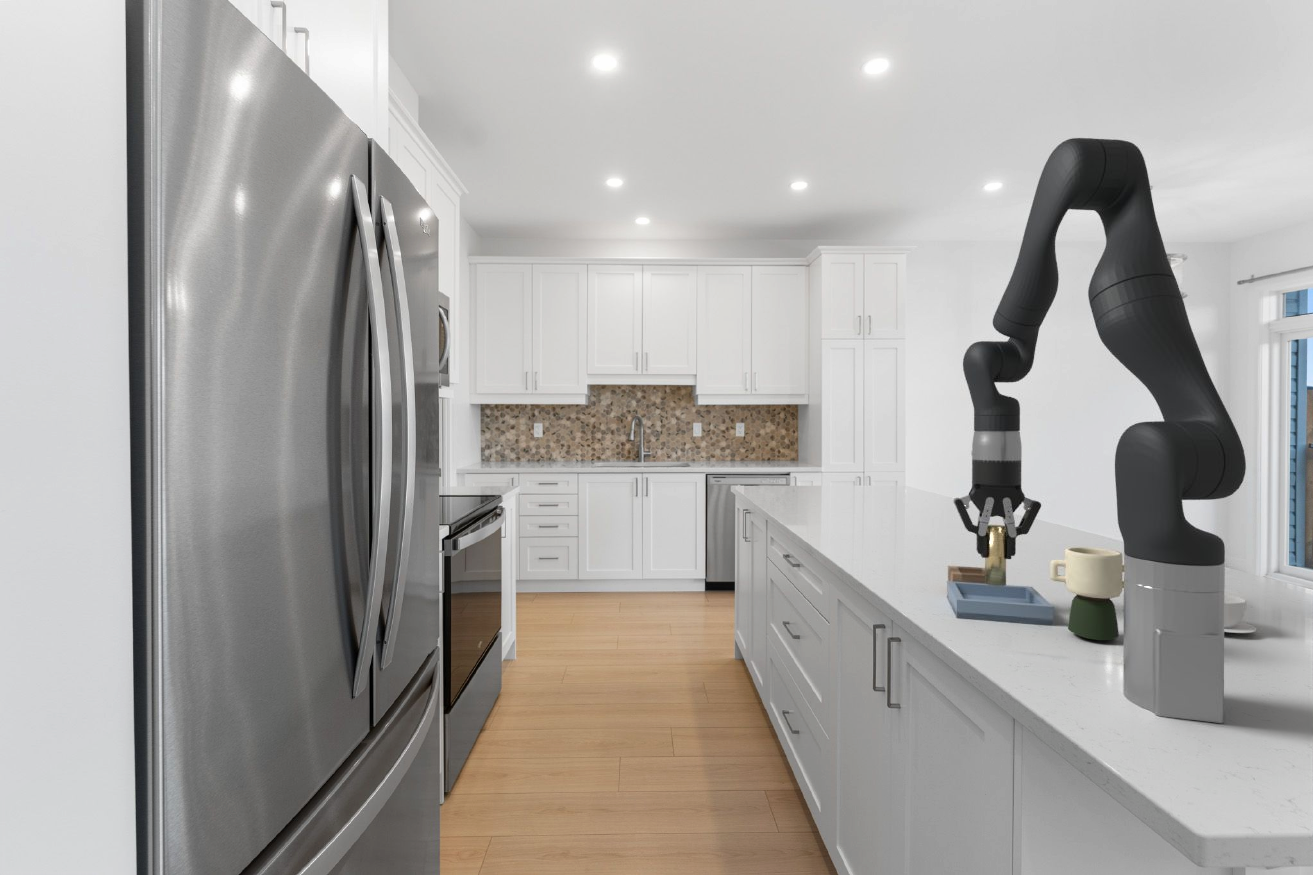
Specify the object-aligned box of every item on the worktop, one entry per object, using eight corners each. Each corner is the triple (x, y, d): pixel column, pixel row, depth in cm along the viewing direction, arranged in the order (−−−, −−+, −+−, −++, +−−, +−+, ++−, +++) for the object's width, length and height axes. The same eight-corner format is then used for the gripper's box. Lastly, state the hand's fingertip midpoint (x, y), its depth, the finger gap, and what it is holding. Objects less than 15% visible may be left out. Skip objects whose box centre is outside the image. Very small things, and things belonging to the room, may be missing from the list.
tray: (1053, 625, 102) (1053, 606, 102) (956, 617, 107) (956, 599, 107) (1032, 603, 116) (1032, 586, 116) (946, 597, 120) (946, 581, 120)
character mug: (1135, 637, 97) (1135, 550, 96) (1141, 651, 90) (1141, 558, 90) (1049, 626, 102) (1050, 544, 102) (1050, 638, 96) (1050, 551, 96)
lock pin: (1007, 586, 109) (1007, 527, 109) (986, 584, 110) (986, 526, 110) (1004, 582, 112) (1004, 525, 112) (984, 581, 113) (984, 524, 113)
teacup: (1261, 640, 96) (1261, 608, 96) (1175, 628, 102) (1175, 598, 102) (1252, 624, 104) (1252, 595, 104) (1173, 613, 110) (1173, 586, 110)
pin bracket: (997, 597, 119) (997, 576, 119) (952, 594, 122) (952, 573, 122) (990, 588, 126) (990, 568, 126) (947, 585, 129) (947, 565, 129)
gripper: (954, 458, 109) (953, 559, 110) (1048, 459, 105) (1048, 564, 105) (949, 456, 117) (948, 551, 117) (1037, 457, 112) (1036, 556, 112)
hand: (995, 557), depth 111 cm, fingers closed on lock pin, 3 cm apart
